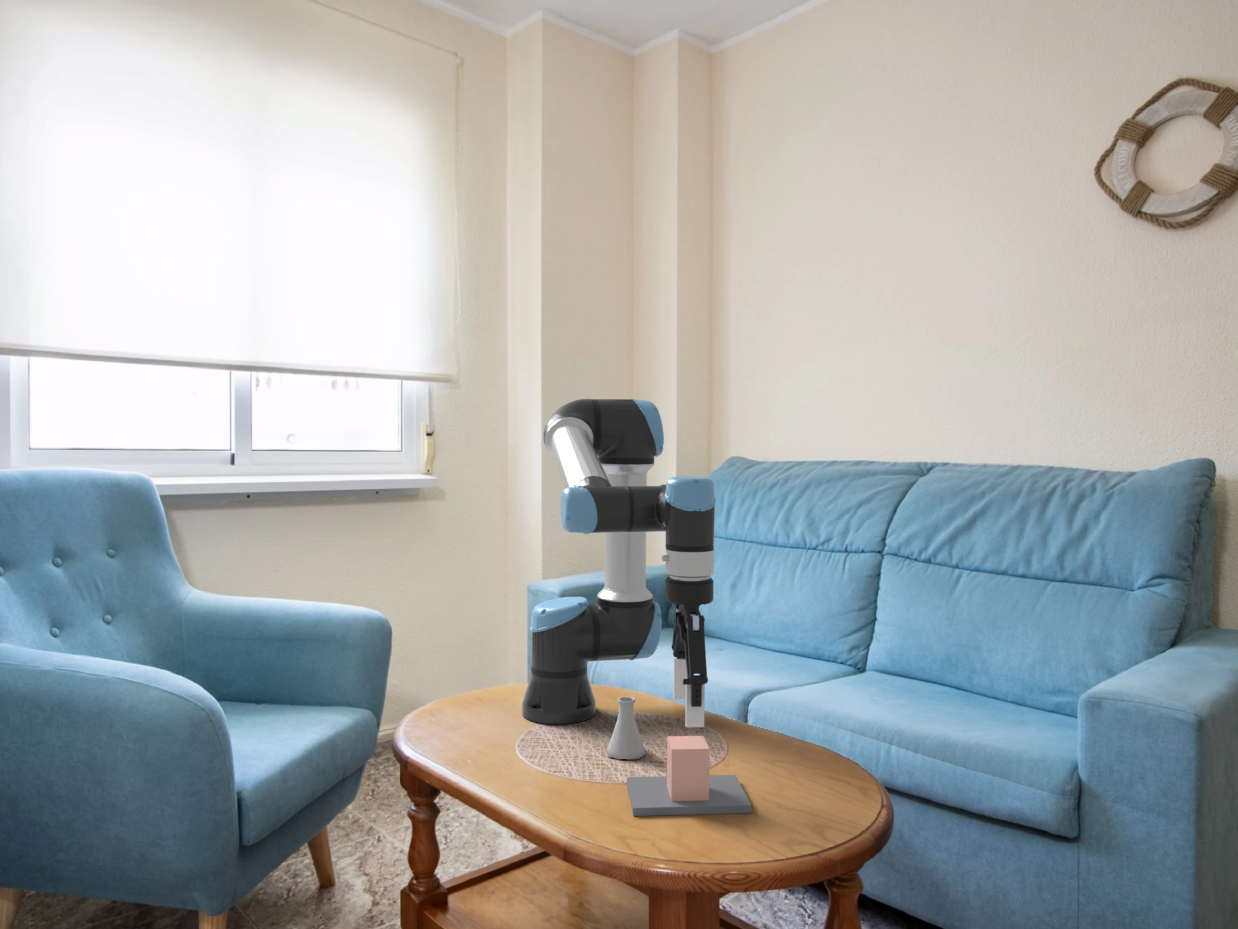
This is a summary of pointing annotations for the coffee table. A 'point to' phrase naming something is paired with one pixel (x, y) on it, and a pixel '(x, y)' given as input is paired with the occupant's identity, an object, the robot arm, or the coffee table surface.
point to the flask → (626, 733)
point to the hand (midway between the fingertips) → (687, 712)
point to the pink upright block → (687, 768)
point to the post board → (655, 800)
